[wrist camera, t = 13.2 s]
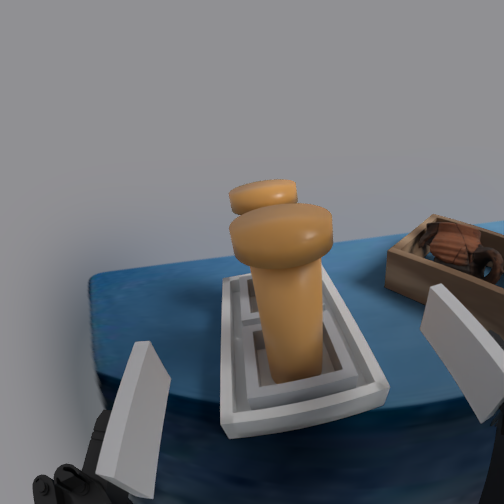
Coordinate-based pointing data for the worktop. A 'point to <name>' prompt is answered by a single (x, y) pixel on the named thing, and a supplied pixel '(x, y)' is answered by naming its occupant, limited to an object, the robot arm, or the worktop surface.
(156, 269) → the worktop surface
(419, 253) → the mug caddy
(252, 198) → the seated peg
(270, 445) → the worktop surface
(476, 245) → the pottery mug
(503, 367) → the robot arm
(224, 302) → the housing
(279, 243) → the wooden peg
